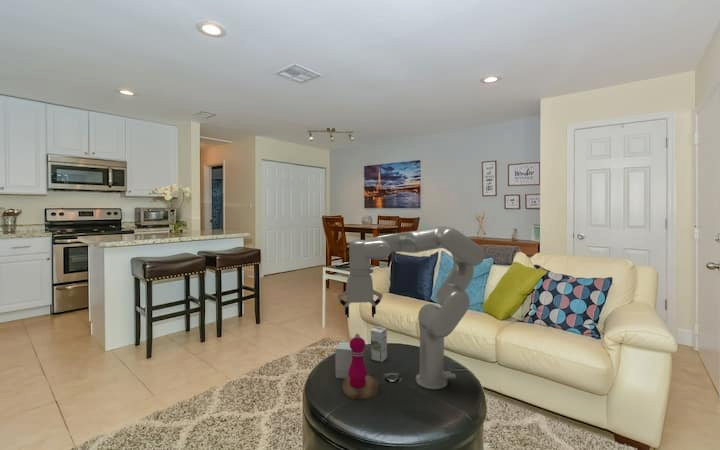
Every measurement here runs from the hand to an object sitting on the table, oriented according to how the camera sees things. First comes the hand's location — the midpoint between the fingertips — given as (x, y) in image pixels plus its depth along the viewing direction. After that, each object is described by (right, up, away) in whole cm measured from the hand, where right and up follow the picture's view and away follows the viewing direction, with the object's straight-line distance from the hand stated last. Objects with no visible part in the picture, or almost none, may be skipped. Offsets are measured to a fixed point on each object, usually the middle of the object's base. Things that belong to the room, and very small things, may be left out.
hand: (360, 316), depth 138 cm
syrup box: (+9, -27, +28) cm, 40 cm away
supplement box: (-6, -29, +14) cm, 32 cm away
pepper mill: (-1, -27, +2) cm, 27 cm away
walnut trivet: (0, -29, +2) cm, 29 cm away
